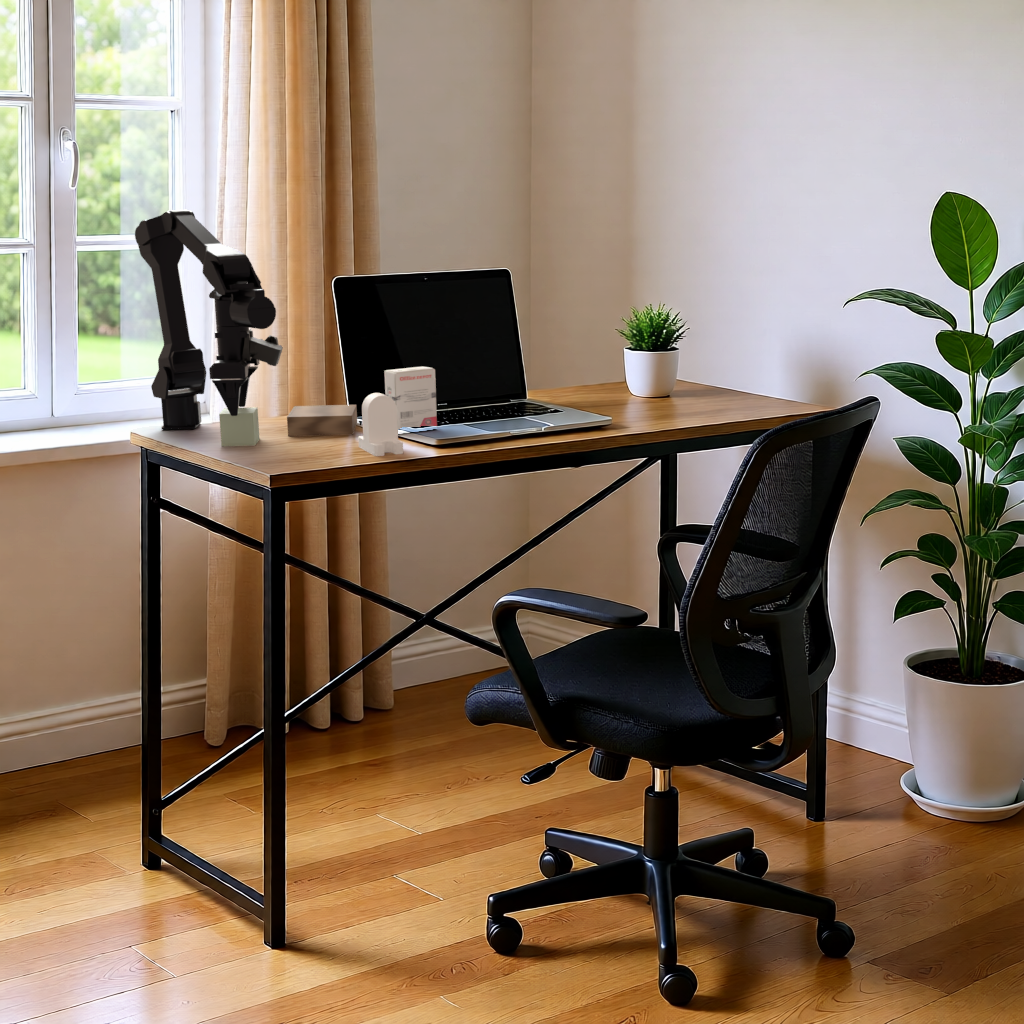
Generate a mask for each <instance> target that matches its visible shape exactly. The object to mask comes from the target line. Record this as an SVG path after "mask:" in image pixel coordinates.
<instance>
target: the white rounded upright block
mask: <svg viewBox="0 0 1024 1024" xmlns="http://www.w3.org/2000/svg"><path fill="white" fill-rule="evenodd" d="M361 415H362V417H361V418H362V419H361V420H362V435H359V436H358V438H357V439H358V448H360V449H361V450H363V451H365V452H366V453H368V454H371V455H372V456H374V457H383V456H384V457H385V453H390V454H391V453H392V454H394V455H402V454H404V442H403V441H401V440H400V439H399V435H398V424H397V407H396V404H395V402H394V401H393V399H392V398H390V397H388V396H386V395H385V394H384V393H380V392H373V393H370V394H368V395H367V396H366V397H365V398H364V399H363V402H362V404H361Z"/></svg>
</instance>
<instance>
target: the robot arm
mask: <svg viewBox="0 0 1024 1024" xmlns="http://www.w3.org/2000/svg"><path fill="white" fill-rule="evenodd" d="M134 239H135V241H136V244H137V247H138V249H139V254H140V257H141V258H142V259H143V260H144V262H145V263H147V265H148V266H149V268H150V269H151V274H152V278H153V279H152V280H153V285H154V292H155V297H156V302H157V303H156V304H157V309H158V315H159V322H160V327H161V328H160V329H161V334H162V340H163V346H162V348H161V352H160V354H159V356H158V360H157V361H158V362H157V365H158V366H157V367H158V371H157V372H156V375H155V377H154V379H153V381H152V384H151V386H150V387H151V391H152V396H153V398H157V399H160V400H161V412H162V422H163V425H162V426H161V427H160V428H161V429H160V430H162V429H170V430H195V429H196V428H198V427H199V425H201V423H202V411H201V402H200V400H198V399H197V398H198V397H197V396H198V395H203V394H205V386H206V380H207V370H206V369H207V368H206V366H205V363H204V353H203V351H202V349H201V348H197V347H196V346H195V345H194V344H193V342H192V341H191V338H190V337H191V336H190V333H189V326H188V319H187V313H186V308H185V307H186V306H185V302H184V297H183V295H184V294H183V289H182V284H181V283H182V282H181V277H180V271H179V263H180V262H181V261H180V260H181V258H182V255H183V253H184V251H185V250H184V249H185V247H186V248H187V250H189V251H190V253H192V255H193V256H195V258H197V260H198V261H199V262H200V263H201V264H202V274H203V275H204V277H205V279H206V280H207V281H208V282H209V284H210V285H211V286H212V287H213V289H212V291H211V292H209V294H208V297H209V299H213V300H214V311H215V312H214V313H215V326H216V328H215V329H216V331H215V332H214V338H215V339H216V340H217V341H216V342H217V354H216V356H215V357H216V358H215V359H216V361H215V362H214V363H213V364H212V365H211V366H210V367H209V368H208V370H209V379H210V380H211V382H212V384H213V385H214V386H215V388H216V390H217V391H218V393H219V396H220V397H221V399H222V401H223V403H224V404H225V406H226V408H228V410H229V412H230V414H231V416H237V415H238V408H246V404H247V397H248V390H249V386H250V385H249V384H250V378H251V376H252V375H253V374H254V373H255V372H256V370H258V369H259V364H260V362H263V363H266V364H267V365H268V366H273V367H276V366H277V365H278V364H279V362H280V359H281V355H282V353H283V345H281V344H279V340H278V337H277V336H274V335H269V336H267V337H266V338H265V339H264V340H263V338H257V337H254V332H253V330H252V329H257V330H258V329H259V330H265V329H268V328H269V327H270V326H272V325H273V323H274V321H275V319H276V316H277V309H276V307H275V304H274V303H273V301H272V300H271V299H270V298H269V297H267V296H266V293H265V292H266V291H265V289H263V287H262V284H261V283H262V281H261V280H260V278H259V276H258V275H257V273H256V271H255V269H254V267H253V264H252V262H251V260H250V258H249V257H248V256H247V255H246V253H244V252H242V251H240V250H239V249H237V248H235V247H231V246H228V245H225V244H223V243H221V242H220V241H219V239H217V238H216V236H214V235H213V234H212V233H211V231H209V229H207V228H206V226H204V225H203V223H201V222H200V221H199V220H198V219H197V217H196V216H195V213H194V212H193V211H192V210H189V209H177V210H175V209H174V210H172V209H170V210H167V211H165V212H163V213H162V214H161V215H158V216H155V217H152V218H150V219H145V220H144V219H143V220H141V221H140V222H139V225H137V226H136V228H135V230H134ZM251 364H252V365H254V366H251Z"/></svg>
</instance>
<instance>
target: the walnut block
mask: <svg viewBox="0 0 1024 1024" xmlns="http://www.w3.org/2000/svg"><path fill="white" fill-rule="evenodd" d="M348 405H349V406H348ZM357 411H358V409H357V404H333V405H332V404H329V405H328V404H326V405H325V404H324V405H320V404H319V405H294V406H293V408H292V409H291V410H290V412H289V414H288V415H287V416H286V421H287V425H286V426H287V437H309V436H311V437H313V436H317V437H319V436H345V435H346V436H347V435H348V436H351V435H352V436H353V435H354V433H355V430H356V427H357V424H358V412H357Z"/></svg>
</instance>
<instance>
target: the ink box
mask: <svg viewBox="0 0 1024 1024" xmlns="http://www.w3.org/2000/svg"><path fill="white" fill-rule="evenodd" d="M383 371H384V372H383V373H384V390H385V391H384V393H385V394H384V395H386V396H388V397H390V398H392V399H393V401H394V402H395V404H396V407H397V424H398V429H400V428H402V427H421V426H437V427H438V421H437V420H438V418H437V416H438V415H437V414H438V413H437V388H436V386H437V385H436V383H437V382H436V380H437V379H436V369H435V368H433V367H429V366H422V365H421V366H413V367H412V366H411V367H406V368H405V367H404V368H395V369H386V370H383Z"/></svg>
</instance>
